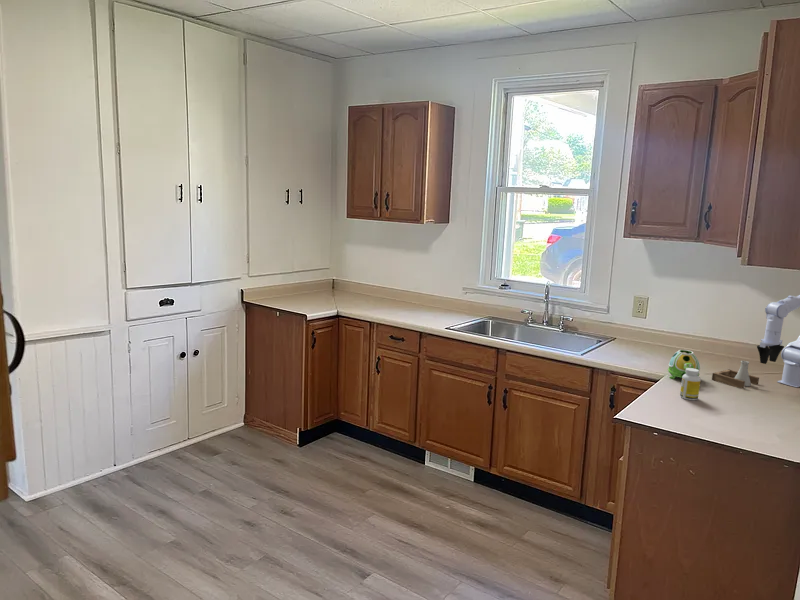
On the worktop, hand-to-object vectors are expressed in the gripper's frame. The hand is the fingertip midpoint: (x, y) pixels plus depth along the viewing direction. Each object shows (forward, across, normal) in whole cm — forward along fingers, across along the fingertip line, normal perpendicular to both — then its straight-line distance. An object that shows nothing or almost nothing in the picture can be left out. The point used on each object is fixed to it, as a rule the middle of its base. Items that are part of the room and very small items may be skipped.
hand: (767, 362), depth 250 cm
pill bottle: (+11, +46, -6) cm, 47 cm away
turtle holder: (+11, +24, -22) cm, 34 cm away
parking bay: (+11, +7, -9) cm, 15 cm away
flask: (+11, +6, -6) cm, 14 cm away
